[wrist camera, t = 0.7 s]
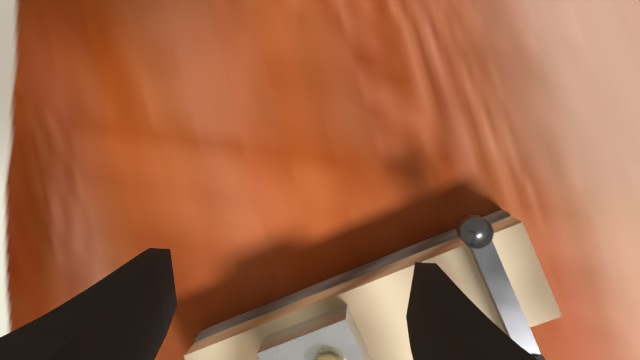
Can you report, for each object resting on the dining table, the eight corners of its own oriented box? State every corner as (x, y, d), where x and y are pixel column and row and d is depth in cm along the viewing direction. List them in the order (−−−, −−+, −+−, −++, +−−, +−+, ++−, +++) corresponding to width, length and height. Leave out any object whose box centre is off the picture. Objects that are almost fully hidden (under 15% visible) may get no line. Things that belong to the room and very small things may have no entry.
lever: (524, 336, 28) (558, 379, 23) (499, 345, 29) (528, 390, 24) (465, 200, 28) (488, 213, 23) (440, 210, 28) (457, 226, 23)
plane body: (501, 209, 28) (520, 219, 25) (539, 297, 29) (563, 318, 25) (201, 330, 32) (182, 353, 28) (238, 407, 32) (223, 440, 29)
